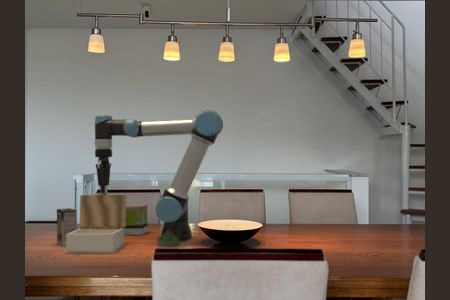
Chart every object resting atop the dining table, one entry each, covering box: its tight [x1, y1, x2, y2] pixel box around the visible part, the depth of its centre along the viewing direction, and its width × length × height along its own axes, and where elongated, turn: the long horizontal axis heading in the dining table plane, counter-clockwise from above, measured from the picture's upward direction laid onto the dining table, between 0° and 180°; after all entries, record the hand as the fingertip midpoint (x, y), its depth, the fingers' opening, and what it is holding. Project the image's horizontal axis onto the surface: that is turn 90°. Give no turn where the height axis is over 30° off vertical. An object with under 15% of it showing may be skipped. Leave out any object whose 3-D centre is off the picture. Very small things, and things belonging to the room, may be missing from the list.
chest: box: [65, 228, 125, 255], centre depth 167 cm, size 20×14×8 cm
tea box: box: [124, 204, 149, 236], centre depth 200 cm, size 15×10×15 cm, turn 84°
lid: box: [79, 193, 127, 229], centre depth 174 cm, size 21×16×2 cm
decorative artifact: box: [156, 229, 180, 248], centre depth 175 cm, size 10×7×10 cm
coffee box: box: [56, 208, 78, 248], centre depth 178 cm, size 9×6×16 cm
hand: (103, 199), depth 177 cm, fingers closed
